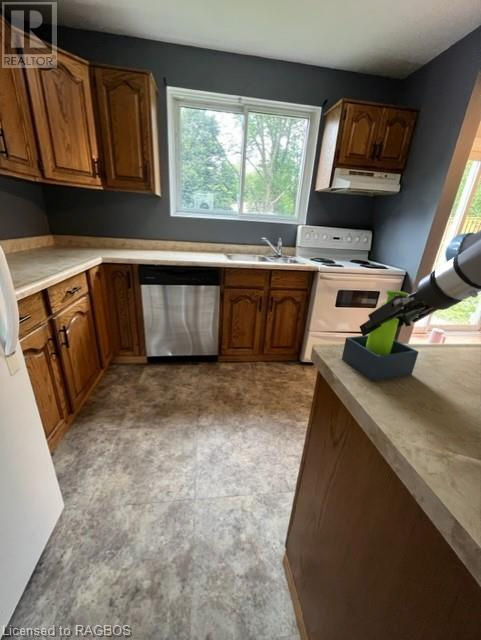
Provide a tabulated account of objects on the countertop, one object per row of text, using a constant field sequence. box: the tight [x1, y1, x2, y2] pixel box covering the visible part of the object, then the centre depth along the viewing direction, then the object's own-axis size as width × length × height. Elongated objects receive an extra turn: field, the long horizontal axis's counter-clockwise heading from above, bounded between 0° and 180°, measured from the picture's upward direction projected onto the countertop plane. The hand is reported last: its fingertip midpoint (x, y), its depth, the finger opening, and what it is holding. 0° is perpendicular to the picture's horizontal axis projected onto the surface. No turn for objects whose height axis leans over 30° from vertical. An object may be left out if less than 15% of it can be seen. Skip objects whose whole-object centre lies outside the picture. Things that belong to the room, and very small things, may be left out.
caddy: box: [341, 334, 419, 382], centre depth 71 cm, size 13×12×7 cm
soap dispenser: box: [366, 289, 410, 355], centre depth 69 cm, size 6×7×20 cm
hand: (372, 330), depth 73 cm, fingers closed on soap dispenser, 6 cm apart
